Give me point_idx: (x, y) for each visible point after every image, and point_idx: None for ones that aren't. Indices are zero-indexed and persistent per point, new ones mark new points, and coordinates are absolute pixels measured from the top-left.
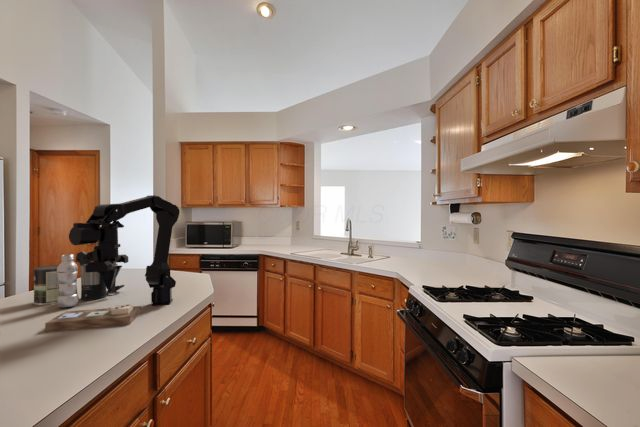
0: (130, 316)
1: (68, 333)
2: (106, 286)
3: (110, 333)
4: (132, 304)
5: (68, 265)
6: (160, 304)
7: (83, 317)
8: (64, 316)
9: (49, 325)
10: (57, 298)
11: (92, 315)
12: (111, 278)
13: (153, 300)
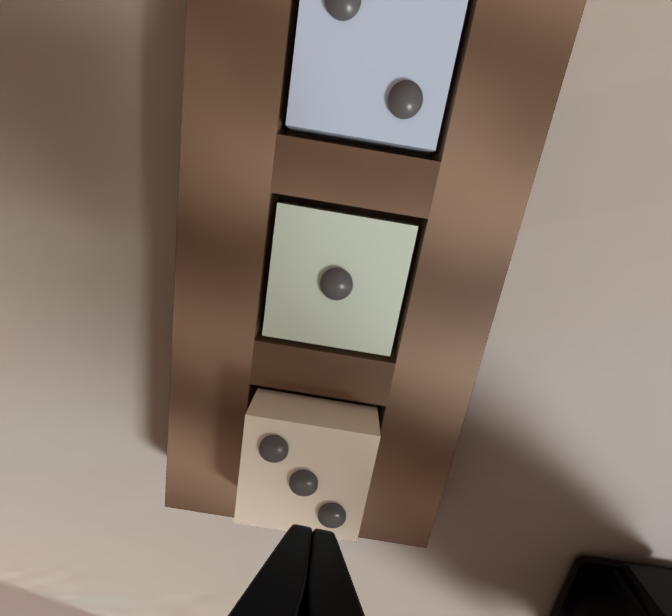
0: (177, 504)
1: (111, 138)
2: (275, 555)
3: (42, 393)
4: (351, 538)
5: None
6: (557, 600)
7: (258, 196)
8: (331, 2)
9: None
10: None
11: (285, 259)
12: None
13: (621, 591)
